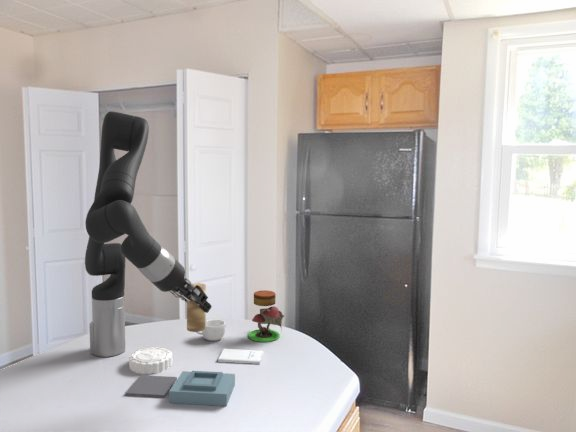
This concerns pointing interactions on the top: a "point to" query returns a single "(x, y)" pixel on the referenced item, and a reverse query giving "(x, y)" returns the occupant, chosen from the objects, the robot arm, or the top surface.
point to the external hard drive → (241, 356)
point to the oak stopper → (196, 314)
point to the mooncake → (150, 360)
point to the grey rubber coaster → (151, 386)
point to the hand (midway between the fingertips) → (202, 307)
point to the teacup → (214, 329)
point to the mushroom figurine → (266, 317)
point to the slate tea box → (202, 388)
